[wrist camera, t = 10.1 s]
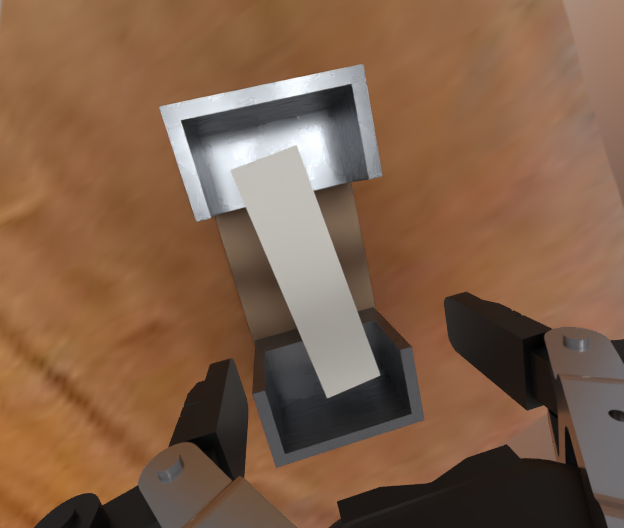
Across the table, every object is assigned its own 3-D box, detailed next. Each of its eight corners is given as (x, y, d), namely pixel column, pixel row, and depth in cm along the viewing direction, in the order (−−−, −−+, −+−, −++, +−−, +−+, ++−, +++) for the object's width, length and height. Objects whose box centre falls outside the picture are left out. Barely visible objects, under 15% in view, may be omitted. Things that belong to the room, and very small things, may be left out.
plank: (190, 123, 24) (184, 117, 22) (327, 93, 25) (332, 85, 23) (273, 395, 31) (274, 409, 29) (381, 363, 31) (388, 374, 30)
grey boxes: (192, 134, 23) (159, 106, 16) (333, 103, 24) (363, 63, 17) (273, 397, 28) (276, 467, 21) (384, 363, 29) (424, 420, 22)
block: (236, 174, 21) (230, 170, 18) (290, 153, 22) (296, 144, 18) (317, 367, 26) (327, 398, 22) (363, 348, 26) (380, 375, 22)
